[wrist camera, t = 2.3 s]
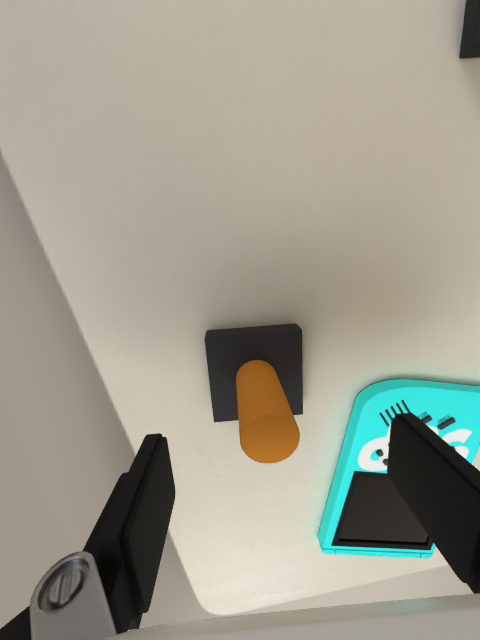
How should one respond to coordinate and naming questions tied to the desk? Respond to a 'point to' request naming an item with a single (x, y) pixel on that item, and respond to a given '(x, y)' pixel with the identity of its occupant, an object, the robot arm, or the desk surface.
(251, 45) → the desk surface
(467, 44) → the base pad
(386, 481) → the handheld game console
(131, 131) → the desk surface
